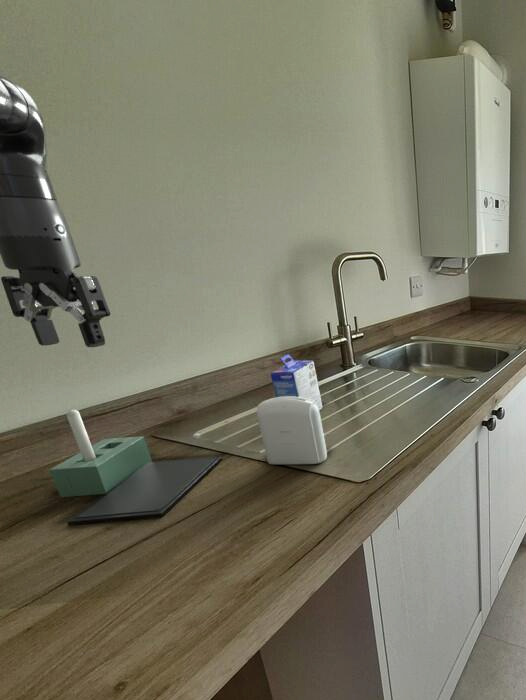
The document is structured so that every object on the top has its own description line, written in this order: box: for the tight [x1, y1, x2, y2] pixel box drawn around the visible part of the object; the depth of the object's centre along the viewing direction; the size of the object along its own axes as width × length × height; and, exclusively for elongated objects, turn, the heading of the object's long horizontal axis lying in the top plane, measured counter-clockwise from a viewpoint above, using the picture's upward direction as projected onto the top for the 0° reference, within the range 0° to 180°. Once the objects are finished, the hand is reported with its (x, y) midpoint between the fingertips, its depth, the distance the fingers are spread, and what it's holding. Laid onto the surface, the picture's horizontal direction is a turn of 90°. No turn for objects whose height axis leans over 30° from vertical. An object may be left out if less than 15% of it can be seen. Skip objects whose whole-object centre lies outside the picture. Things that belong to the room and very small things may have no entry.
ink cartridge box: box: [270, 353, 323, 411], centre depth 92 cm, size 10×6×14 cm, turn 2°
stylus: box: [65, 409, 96, 462], centre depth 66 cm, size 1×1×13 cm
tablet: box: [66, 456, 223, 526], centre depth 66 cm, size 12×17×1 cm
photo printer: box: [256, 396, 328, 465], centre depth 73 cm, size 10×4×12 cm, turn 90°
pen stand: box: [49, 435, 153, 498], centre depth 69 cm, size 6×11×5 cm, turn 9°
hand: (73, 345), depth 63 cm, fingers open, 8 cm apart
